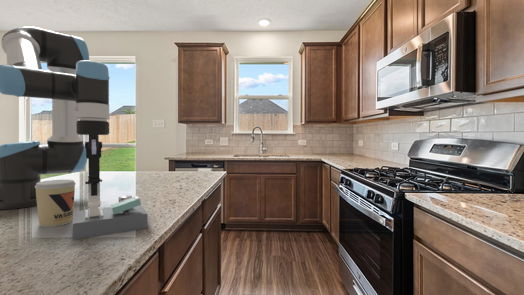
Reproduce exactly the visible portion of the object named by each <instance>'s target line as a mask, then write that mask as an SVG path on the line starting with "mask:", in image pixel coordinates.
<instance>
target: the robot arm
mask: <svg viewBox="0 0 524 295" xmlns="http://www.w3.org/2000/svg"><path fill="white" fill-rule="evenodd" d="M1 48H2V50H3V52H4V53H5V54H6V64H0V94H2V95H7V96H14V97H17V98H18V97H19V98H21V97H22V98H33V99H34V98H35V99H48V100H49V99H50V100H51V108H52V109H51V113H52V114H51V116H52V117H51V119H52V122H51V124H52V126H51V127H52V129H51V130H52V134H51V136H50V137H48V138H47V140H46V142H47V143H46V144H45V143H44V144H43V143H42V144H41V141H40V140H29V141H19V142H18V141H17V142H9V143H3V144H0V210H15V209H23V208H24V209H25V208H29V207H34V206H37V199H36V188H35V186H36V183H38V182H42V180H41V176H42V175H53V174H54V175H55V174H56V175H57V174H72V173H80V172H82V171H84V169H85V168H86V166H87V164H88V176H87V181H84V182H85V185H87V187H88V188H87V196H88V198H87V202H88V201H96V200H100V201H101V182H103V179H101V177H100V176H101V174H100V173H101V172H100V171H101V170H100V169H101V167H100V166H101V165H100V163H101V162H100V161H101V160H100V158H102V148H103V141H99V140H100V139H99V138H100V137H99V136H108V135H109V134H110V123H109V121H108V120H110V75H109V67H108V66H107V65H106V64H105V63H103V62H100V61H94V60H90V54H89V48H88V45H87V43H86V41H85V40H84V39H83V38H82V37H79V36H75V35H72V34H68V33H62V32H58V31H54V30H49V29H44V28H41V27H36V26H20V27H16V28H13V29H10V30H8V31H7V32H5V33H4V34H3V36H2V38H1ZM41 62H42V63H46V68H47V69H48V70H45V69H43V67H42V64H41ZM81 135H84V136H85V135H86V136H88V141H84V139H83V138H82V137H81ZM87 162H88V163H87ZM87 206H88V205H87ZM99 208H101V204H100V205H99ZM88 209H90V206H88Z"/></svg>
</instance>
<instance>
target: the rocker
mask: <svg viewBox="0 0 524 295" xmlns="http://www.w3.org/2000/svg"><path fill="white" fill-rule="evenodd" d="M139 205H141V206H142V202H141V199H140V198H139V196H138V195H133V196H132V198H130V199H127V200H124V201H121V202H119V201H118V202H116V203H113V204H110V207H111V208H112V211H113V214H117V213H120V212H122V211H125V210H128V209H131V208H134V207H136V206H139Z"/></svg>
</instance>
